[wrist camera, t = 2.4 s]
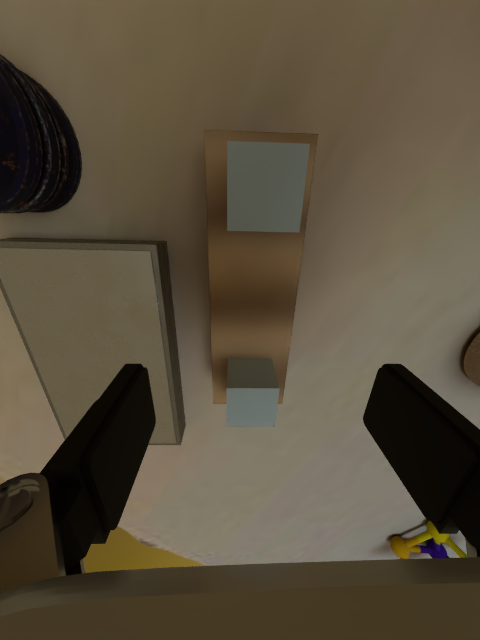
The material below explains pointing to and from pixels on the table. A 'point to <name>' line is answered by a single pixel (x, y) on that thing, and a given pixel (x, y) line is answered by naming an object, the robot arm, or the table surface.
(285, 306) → the wooden block carrier
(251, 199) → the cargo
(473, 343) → the planter
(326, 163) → the table surface
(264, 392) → the block
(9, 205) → the storage jar
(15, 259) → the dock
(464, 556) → the educational toy
